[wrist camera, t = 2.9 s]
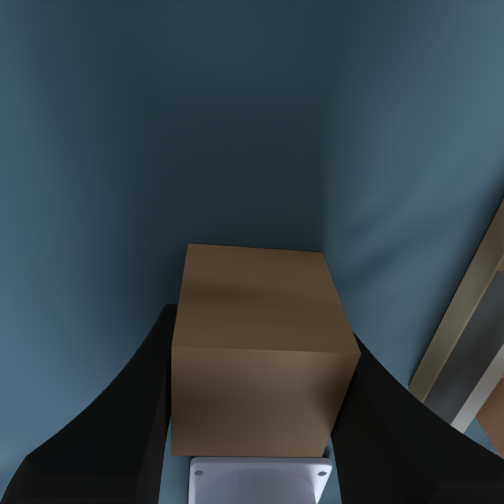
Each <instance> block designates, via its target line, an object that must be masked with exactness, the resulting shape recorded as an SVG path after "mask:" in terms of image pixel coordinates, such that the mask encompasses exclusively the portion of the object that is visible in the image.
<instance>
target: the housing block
mask: <svg viewBox="0 0 504 504" xmlns="http://www.w3.org/2000/svg"><path fill="white" fill-rule="evenodd" d="M360 355H361V352H360V350H359V347H358V345H357V342H356V339H355V337H354V334H353V332H352V329H351V326H350V324H349V321H348V318H347V316H346V313H345V311H344V308H343V305H342V303H341V300H340V298H339V295H338V292H337V290H336V287H335V284H334V282H333V279H332V277H331V274H330V271H329V269H328V266H327V263H326V261H325V258H324V256H323V253H322V252H309V251H294V250H279V249H265V248H250V247H236V246H221V245H206V244H192V243H188V248H187V254H186V260H185V266H184V272H183V279H182V285H181V291H180V297H179V303H178V309H177V316H176V322H175V328H174V334H173V340H172V362H171V456H252V457H322V455H323V452H324V450H325V447H326V445H327V442H328V439H329V437H330V434H331V431H332V429H333V426H334V423H335V421H336V418H337V416H338V413H339V410H340V408H341V405H342V402H343V400H344V397H345V395H346V392H347V389H348V387H349V384H350V381H351V379H352V376H353V373H354V371H355V368H356V366H357V363H358V360H359V358H360Z"/></svg>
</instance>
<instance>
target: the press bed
mask: <svg viewBox="0 0 504 504" xmlns="http://www.w3.org/2000/svg"><path fill="white" fill-rule="evenodd" d="M503 375H504V199H503V201H502V203H501V205H500V207H499V209H498V211H497V213H496V215H495V217H494V218H493V220H492V222H491V224H490V226H489V228H488V230H487V232H486V234H485V236H484V238H483V240H482V242H481V244H480V246H479V248H478V250H477V252H476V254H475V256H474V258H473V260H472V262H471V264H470V266H469V268H468V270H467V272H466V274H465V276H464V278H463V280H462V282H461V284H460V285H459V287H458V289H457V291H456V293H455V295H454V297H453V299H452V301H451V303H450V305H449V307H448V309H447V311H446V313H445V315H444V317H443V319H442V321H441V323H440V325H439V327H438V329H437V331H436V333H435V335H434V337H433V339H432V341H431V343H430V345H429V347H428V349H427V351H426V352H425V354H424V356H423V358H422V360H421V362H420V364H419V366H418V368H417V370H416V372H415V374H414V376H413V378H412V380H411V382H410V384H409V386H408V388H409V390H410V392H411V394H412V395H413V396H414V397H415V398H417V399H418V400H419V401H420V402H421V403H423V404H424V405H425V406H426V407H428V408H429V409H430V410H431V411H433V412H434V413H435V414H436V415H438V416H439V417H440V418H442V419H443V420H444V421H446V422H447V423H448V424H450V425H451V426H452V427H454V428H455V429H457V430H458V431H460V432H461V433H464V431H465V430H466V429H467V427H468V426H469V424H470V423H471V421H472V420H473V418H474V417H475V416H476V414H477V413H478V411H479V410H480V408H481V407H482V405H483V404H484V403H485V401H486V400H487V398H488V397H489V395H490V394H491V392H492V391H493V390H494V388H495V387H496V385H497V384H498V382H499V381H500V380H501V378H502V377H503Z"/></svg>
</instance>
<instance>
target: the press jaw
mask: <svg viewBox="0 0 504 504" xmlns="http://www.w3.org/2000/svg"><path fill="white" fill-rule="evenodd" d="M476 418H477V420H478V421H479V423H480V425H481V426H482V428H483V430H484V431H485V433H486V435H487V436H488V438H489V440H490V441H491V443H492V445H493V446H494V448H495V449H496V451H497V453H498V454H499V456H500V457H501V458H502V459H504V375H503V377H502V378H501V380H500V381H499V382H498V384H497V385H496V387H495V388H494V390H493V391H492V392H491V394H490V395H489V397H488V398H487V400H486V401H485V403H484V404H483V405H482V407H481V408H480V410H479V411H478V413H477V414H476Z"/></svg>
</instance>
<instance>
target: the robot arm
mask: <svg viewBox="0 0 504 504" xmlns="http://www.w3.org/2000/svg"><path fill="white" fill-rule="evenodd" d="M177 309H178V305H176V304H166V305H165V306H164V307H163V309H162V311H161V313H160V315H159V317H158V319H157V321H156V323H155V324H154V326H153V328H152V329H151V331H150V333H149V334H148V336H147V337H146V339H145V340H144V342H143V343H142V345H141V346H140V347H139V349H138V350H137V352H136V353H135V354H134V356H133V357H132V358H131V359H130V361H129V362H128V363H127V365H126V366H125V367H124V368H123V370H122V371H121V372H120V373H119V374H118V376H117V377H116V378H115V379H114V380H113V381H112V382H111V383H110V384H109V386H108V387H107V388H106V389H105V390H104V391H103V392H102V393H101V394H100V395H99V396H98V397H97V398H96V399H95V400H94V401H93V402H92V403H91V404H90V405H89V406H88V407H87V408H85V409H84V410H83V411H82V412H81V413H80V414H79V415H78V416H76V417H75V418H74V419H73V420H72V421H71V422H69V423H68V424H67V425H66V426H65V427H64V428H63V429H61V430H60V431H59V432H58V433H56V434H55V435H54V436H52V437H51V438H50V439H48V440H47V441H46V442H44V443H43V444H42V445H40V446H39V447H38V448H37V449H35V450H34V451H33V452H31V453H30V454H28V455H27V456H26V457H25V459H24V460H23V461H22V463H21V465H20V466H19V468H18V469H17V471H16V473H15V474H14V476H13V478H12V479H11V481H10V483H9V485H8V487H7V489H6V491H5V493H4V495H3V498H2V500H1V502H0V504H158V500H159V492H160V483H161V475H162V467H163V458H164V450H165V442H166V437H167V431H168V426H169V422H170V417H171V362H172V340H173V334H174V328H175V322H176V316H177ZM352 332H353V331H352ZM353 334H354V337H355V339H356V342H357V345H358V347H359V350H360V352H361V355H360V358H359V360H358V363H357V366H356V368H355V371H354V373H353V376H352V379H351V381H350V384H349V387H348V389H347V392H346V395H345V397H344V400H343V402H342V405H341V408H340V410H339V413H338V416H337V418H336V421H335V423H334V426H333V429H332V431H331V434H330V435H331V440H332V444H333V449H334V455H335V461H336V467H337V473H338V480H339V487H340V493H341V500H342V504H504V459H502V458H501V457H499V456H497V455H496V454H494V453H493V452H491V451H489V450H488V449H486V448H484V447H483V446H481V445H479V444H478V443H476V442H475V441H473V440H471V439H470V438H468V437H467V436H466V435H464V434H463V433H461V432H460V431H458V430H457V429H455V428H454V427H452V426H451V425H450V424H448V423H447V422H446V421H444V420H443V419H442V418H440V417H439V416H438V415H436V414H435V413H434V412H433V411H431V410H430V409H429V408H428V407H426V406H425V405H424V404H423V403H421V402H420V401H419V400H418V399H417V398H415V397H414V396H413V395H412V394H411V393H410V392H409V391H408V390H407V389H405V388H404V387H403V386H402V385H401V384H400V383H399V382H398V381H397V380H396V379H395V378H394V377H393V376H392V375H391V374H390V373H389V372H388V371H387V370H386V369H385V368H384V367H383V366H382V365H381V364H380V363H379V362H378V360H377V359H376V358H375V357H374V356H373V355H372V354H371V352H370V351H369V350H368V349H367V348H366V347H365V345H364V344H363V343H362V342H361V341H360V339H359V338H358V337H357V336H356V334H355V333H354V332H353ZM331 470H332V463H331V460H330V459H328V458H303V457H195V458H193V459H192V460H191V463H190V480H189V499H188V504H318V501H319V499H320V496H321V494H322V492H323V489H324V487H325V484H326V482H327V480H328V477H329V475H330V472H331Z"/></svg>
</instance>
